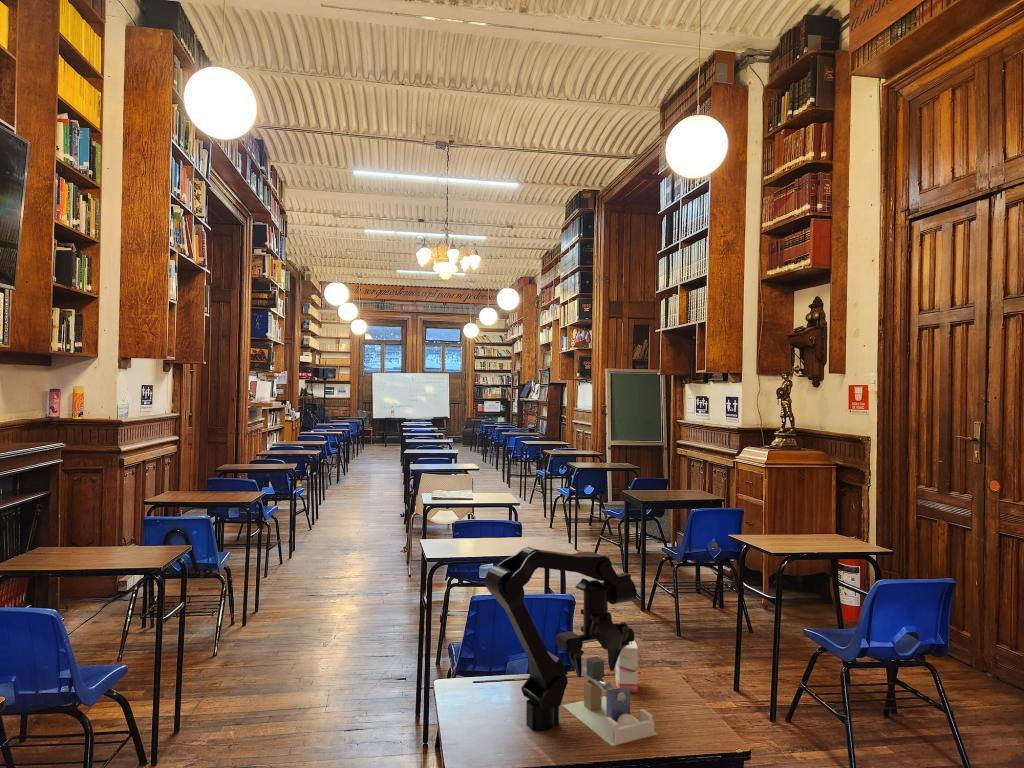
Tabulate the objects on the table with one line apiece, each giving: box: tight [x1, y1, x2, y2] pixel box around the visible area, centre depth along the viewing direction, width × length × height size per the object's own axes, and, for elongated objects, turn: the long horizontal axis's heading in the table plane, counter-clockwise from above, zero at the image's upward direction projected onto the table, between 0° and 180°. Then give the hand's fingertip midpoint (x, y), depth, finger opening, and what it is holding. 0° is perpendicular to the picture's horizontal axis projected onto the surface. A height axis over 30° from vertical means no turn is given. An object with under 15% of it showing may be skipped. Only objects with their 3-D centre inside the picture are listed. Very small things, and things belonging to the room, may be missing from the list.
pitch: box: [561, 680, 659, 747], centre depth 152 cm, size 12×21×7 cm, turn 25°
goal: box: [605, 708, 655, 746], centre depth 144 cm, size 10×4×4 cm, turn 115°
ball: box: [617, 713, 635, 727], centre depth 146 cm, size 4×4×4 cm
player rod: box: [581, 656, 631, 722], centre depth 154 cm, size 5×16×11 cm, turn 25°
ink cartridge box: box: [614, 640, 639, 693], centre depth 171 cm, size 9×5×15 cm, turn 178°
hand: (595, 673), depth 157 cm, fingers open, 9 cm apart
